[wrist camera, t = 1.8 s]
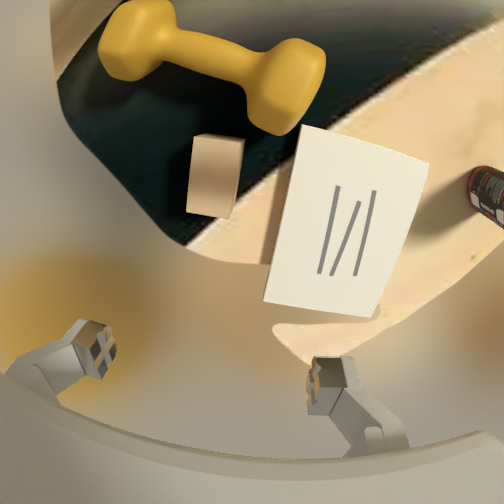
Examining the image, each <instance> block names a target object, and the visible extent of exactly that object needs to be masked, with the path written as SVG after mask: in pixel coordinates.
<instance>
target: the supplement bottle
mask: <svg viewBox="0 0 504 504" xmlns="http://www.w3.org/2000/svg"><path fill="white" fill-rule="evenodd" d="M468 198H469V201H470V203H471V205H472V206H473V207H474V208H475V209H476V210H477V211H478V212H480V213H482V214H483V215H484V216H486V217H487V218H489V219H490V220H492V221H493V222H494V223H496V224H497V225H499V226H500V227H501V228H503V229H504V172H502V171H500V170H497V169H495V168H492V167H489V166H481V167H478V168H477V169H476V170H475V171H474V172H473V174H472V175H471V177H470V180H469V184H468Z"/></svg>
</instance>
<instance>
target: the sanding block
mask: <svg viewBox="0 0 504 504" xmlns="http://www.w3.org/2000/svg"><path fill="white" fill-rule="evenodd" d="M244 145H245V139H244V138H238V137H231V136H224V135H217V134H209V133H205V134H201V135H198V136H195V137H194V142H193V150H192V158H191V167H190V176H189V186H188V196H187V207H186V212H189V213H195V214H201V215H207V216H212V217H218V218H224V219H229V217H230V215H231V212H232V210H233V208H234V205H235V201H236V194H237V188H238V182H239V176H240V169H241V163H242V157H243V151H244Z"/></svg>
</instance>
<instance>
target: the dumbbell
mask: <svg viewBox="0 0 504 504" xmlns="http://www.w3.org/2000/svg"><path fill="white" fill-rule="evenodd" d="M98 55H99V58H100V60H101V62H102V64H103V66H104V68H105V70H106V71H107V73H108V74H109V75H110V76H111V77H113V78H116V79H119V80H123V81H137V80H139V79H141V78H143V77H145V76H146V75H148V74H149V73H151V72H152V71H154V70H155V69H156V68H158V67H159V66H160V65H161V64H162V62H163V61H169V62H172V63H175V64H177V65H180V66H183V67H185V68H188V69H191V70H194V71H197V72H199V73H203V74H206V75H209V76H213V77H216V78H219V79H223V80H227V81H230V82H234V83H237V84H238V85H240V86H241V87H242V88H243V89H244V90H245V92H246V96H247V113H248V118H249V120H250V121H251V122H252V123H253V124H254V125H255V126H257V127H258V128H260V129H262V130H265V131H267V132H269V133H271V134H274V135H277V136H282V135H284V134H286V133H288V132H289V131H290V130H291V129H292V128H293V127H294V126H295V125H296V124H297V123H298V121H299V120H300V119H301V117H302V116H303V115H304V113H305V112H306V110H307V109H308V107H309V105H310V104H311V102H312V100H313V98H314V96H315V95H316V93H317V91H318V89H319V87H320V84H321V82H322V79H323V75H324V71H325V65H326V56H325V53H324V51H323V50H322V49H320V48H319V47H317V46H315V45H313V44H311V43H309V42H306V41H304V40H301V39H297V38H291V39H287V40H284V41H282V42H281V43H279V44H278V45H276V46H275V47H274V48H273V49H271V50H269V51H267V52H263V53H257V52H253V51H251V50H248V49H246V48H244V47H242V46H240V45H237V44H235V43H232V42H229V41H226V40H223V39H220V38H217V37H214V36H210V35H206V34H202V33H198V32H192V31H184V30H180V29H178V28H177V21H176V14H175V10H174V7H173V5H172V4H171V3H170V2H169V1H167V0H132V1H129V2H126V3H124V4H122V5H120V6H119V7H118V8H117V9H116V10H115V11H114V13H113V14H112V16H111V17H110V19H109V21H108V23H107V25H106V28H105V30H104V32H103V34H102V36H101V39H100V41H99V45H98Z"/></svg>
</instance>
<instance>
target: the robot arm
mask: <svg viewBox="0 0 504 504" xmlns="http://www.w3.org/2000/svg"><path fill="white" fill-rule="evenodd" d="M112 334H113V332H112V329H111V327H110V326H108V325H105V324H101V323H98V322H94V321H91V320H86V319H83V318H79V319H78V320H77V321H76V322H75V323H74V325H73V326H72V327H71V328H70V329H69V330H68V332H67V333H66V334H65V336H64V337H63V338H62V339H61V340H59V339H58V340H56V341H53V342H51V343H48V344H47V345H44V346H42V347H39V348H37V349H35V350H32V351H30V352H28V353H26V354H23V355H21V356H19V357H18V358H17V359H16V360H15V361H14V363H13V364H12V365H11V366H10V368H9V369H8V370H7V371H6V373H5V374H3V373H1V372H0V504H504V444H503V443H502V442H501V441H499V440H498V439H497V438H495V437H494V436H493V435H491V434H490V433H488V432H486V431H485V430H478V431H474V432H471V433H468V434H465V435H462V436H459V437H456V438H452V439H449V440H445V441H441V442H438V443H433V444H429V445H425V446H420V447H416V448H412V449H410V447H409V443H408V439H407V435H406V432H405V428H404V425H403V422H401V421H400V420H399V419H398V418H397V417H396V416H395V415H394V414H393V413H391V412H390V411H389V410H388V409H387V408H386V407H385V406H384V405H383V404H382V403H380V402H379V401H378V400H377V399H376V398H375V397H374V396H373V395H372V394H371V393H370V392H368V391H367V390H366V389H365V388H361V386H360V382H359V378H358V374H357V370H356V366H355V363H354V359H353V358H352V357H342V356H340V357H338V356H314V357H313V359H312V362H311V363H312V368H311V369H310V370H309V372H308V375H307V382H306V392H307V394H308V395H309V398H308V400H307V406H308V407H307V408H308V415H321V416H329V417H330V419H331V420H332V421H333V423H334V424H335V425H336V427H337V428H338V429H339V431H340V432H341V433H342V434H343V436H344V437H345V438H346V440H347V441H348V442H349V444H350V445H351V446H352V447H351V448H350V449H349V450H348V451H347V453H346V454H345V455H344V456H343V457H342V458H323V459H287V458H265V457H253V456H243V455H234V454H227V453H219V452H213V451H207V450H201V449H196V448H191V447H186V446H181V445H176V444H172V443H167V442H164V441H160V440H156V439H152V438H148V437H145V436H141V435H138V434H135V433H131V432H128V431H125V430H122V429H119V428H116V427H113V426H110V425H107V424H105V423H102V422H99V421H97V420H94V419H91V418H89V417H87V416H84V415H82V414H79V413H77V412H75V411H72V410H70V409H68V408H66V407H64V406H61V404H60V402H59V400H58V399H57V397H56V395H58V394H59V393H61V392H62V391H64V390H65V389H67V388H68V387H69V386H71V385H72V384H74V383H76V382H77V381H79V380H80V379H81V378H83V377H85V376H86V375H88V376H91V377H94V378H97V379H100V380H102V379H103V377H104V375H105V373H106V372H107V370H108V366H107V364H109V363H111V362H112V361H113V360H114V358H115V355H116V342H115V340H114V339H113V338H112V337H111V335H112Z"/></svg>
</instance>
